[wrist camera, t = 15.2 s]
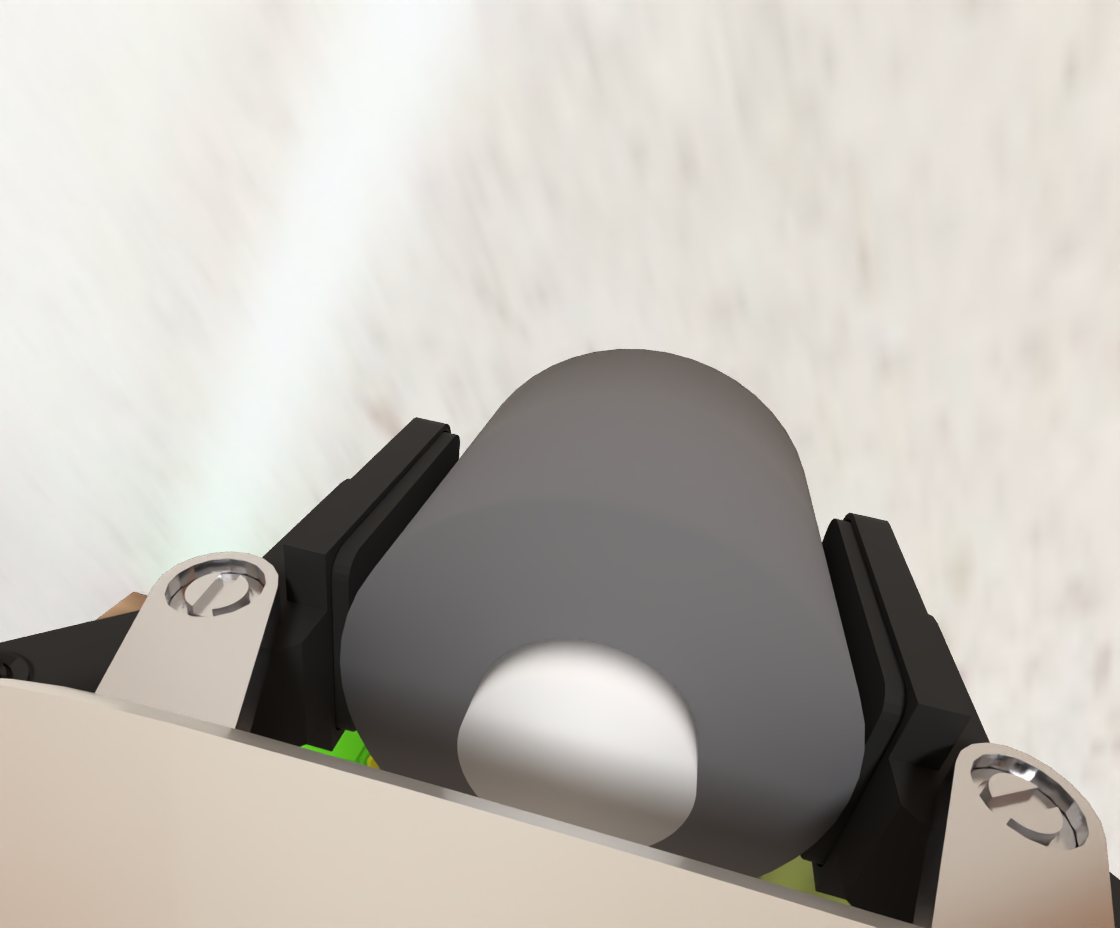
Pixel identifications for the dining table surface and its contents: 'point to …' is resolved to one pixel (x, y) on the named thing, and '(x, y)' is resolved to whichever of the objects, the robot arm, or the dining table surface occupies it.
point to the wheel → (619, 621)
